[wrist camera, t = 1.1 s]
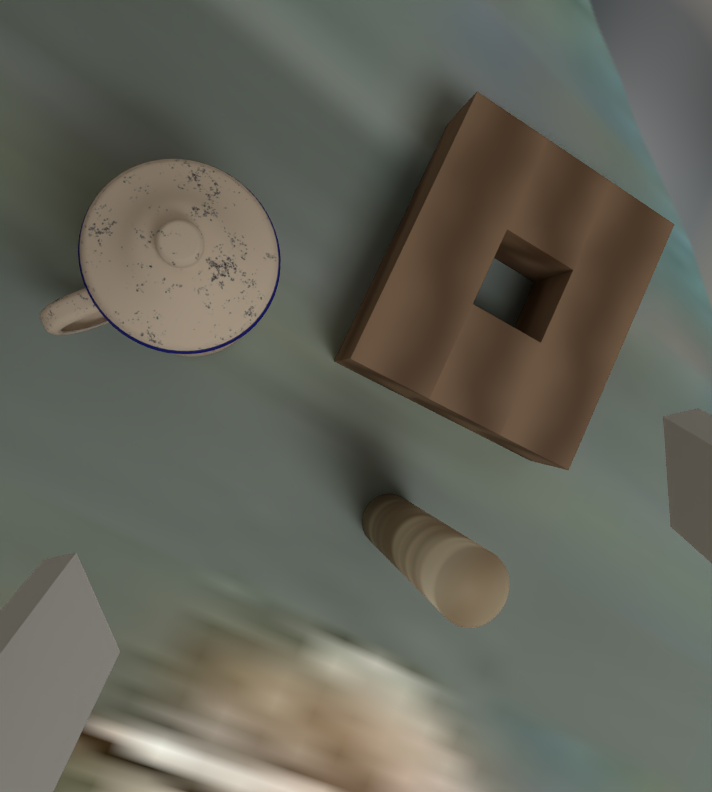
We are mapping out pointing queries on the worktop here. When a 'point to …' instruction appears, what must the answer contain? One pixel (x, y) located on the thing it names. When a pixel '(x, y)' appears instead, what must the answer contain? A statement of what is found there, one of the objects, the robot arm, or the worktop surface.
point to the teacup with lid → (172, 260)
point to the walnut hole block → (525, 253)
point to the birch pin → (438, 561)
